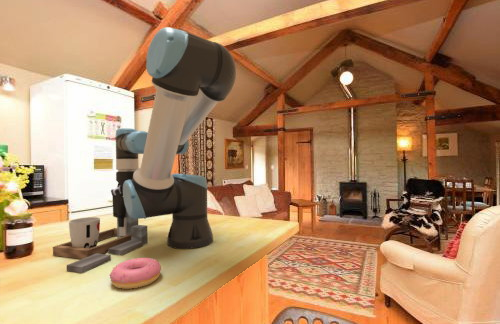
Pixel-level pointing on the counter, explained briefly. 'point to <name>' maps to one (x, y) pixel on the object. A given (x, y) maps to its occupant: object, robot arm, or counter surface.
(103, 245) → the wooden serving tray
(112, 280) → the doughnut
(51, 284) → the counter surface
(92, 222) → the cup
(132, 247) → the broken strip
